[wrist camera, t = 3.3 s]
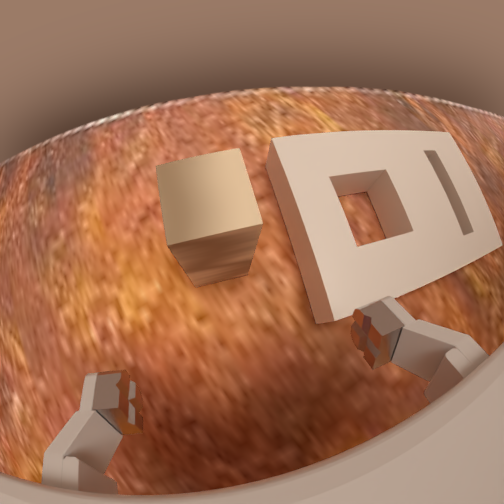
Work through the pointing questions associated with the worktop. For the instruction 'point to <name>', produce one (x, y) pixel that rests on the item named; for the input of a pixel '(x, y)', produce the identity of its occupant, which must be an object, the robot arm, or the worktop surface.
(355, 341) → the robot arm
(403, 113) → the worktop surface
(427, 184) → the socket board
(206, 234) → the square peg
